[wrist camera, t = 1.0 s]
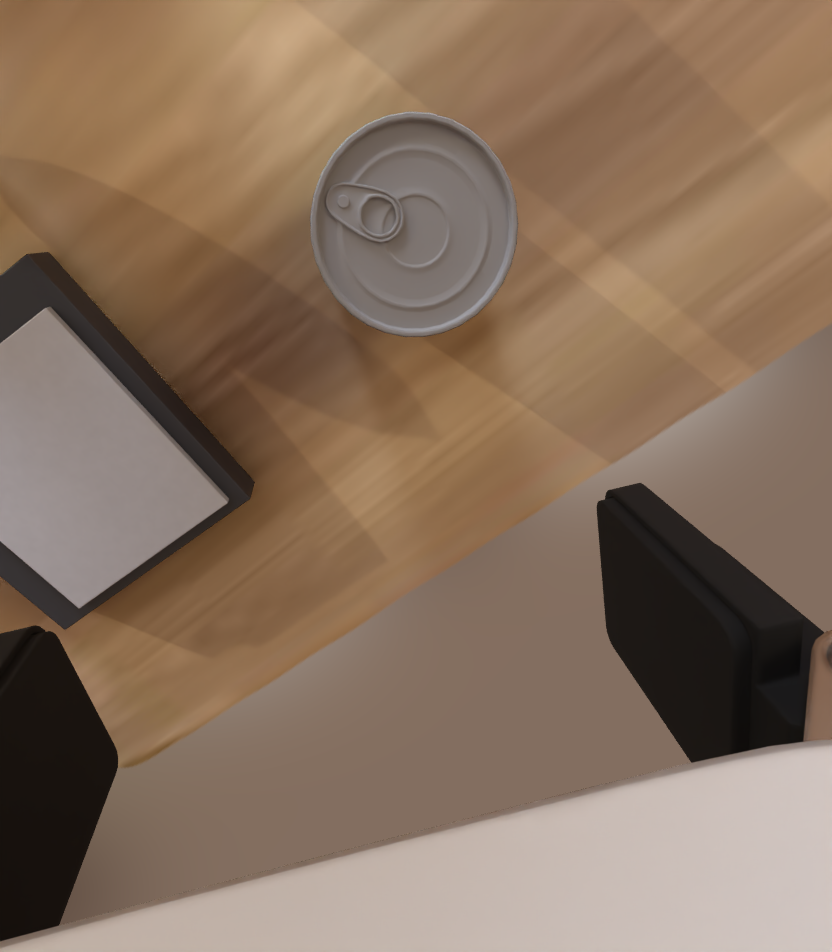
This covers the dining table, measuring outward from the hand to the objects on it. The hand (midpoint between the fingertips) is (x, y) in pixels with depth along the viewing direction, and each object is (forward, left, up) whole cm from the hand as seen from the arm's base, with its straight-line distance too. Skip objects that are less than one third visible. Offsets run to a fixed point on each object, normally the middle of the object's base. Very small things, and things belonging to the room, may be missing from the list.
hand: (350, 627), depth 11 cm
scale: (-4, -17, -27) cm, 32 cm away
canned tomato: (-3, +6, -27) cm, 28 cm away
